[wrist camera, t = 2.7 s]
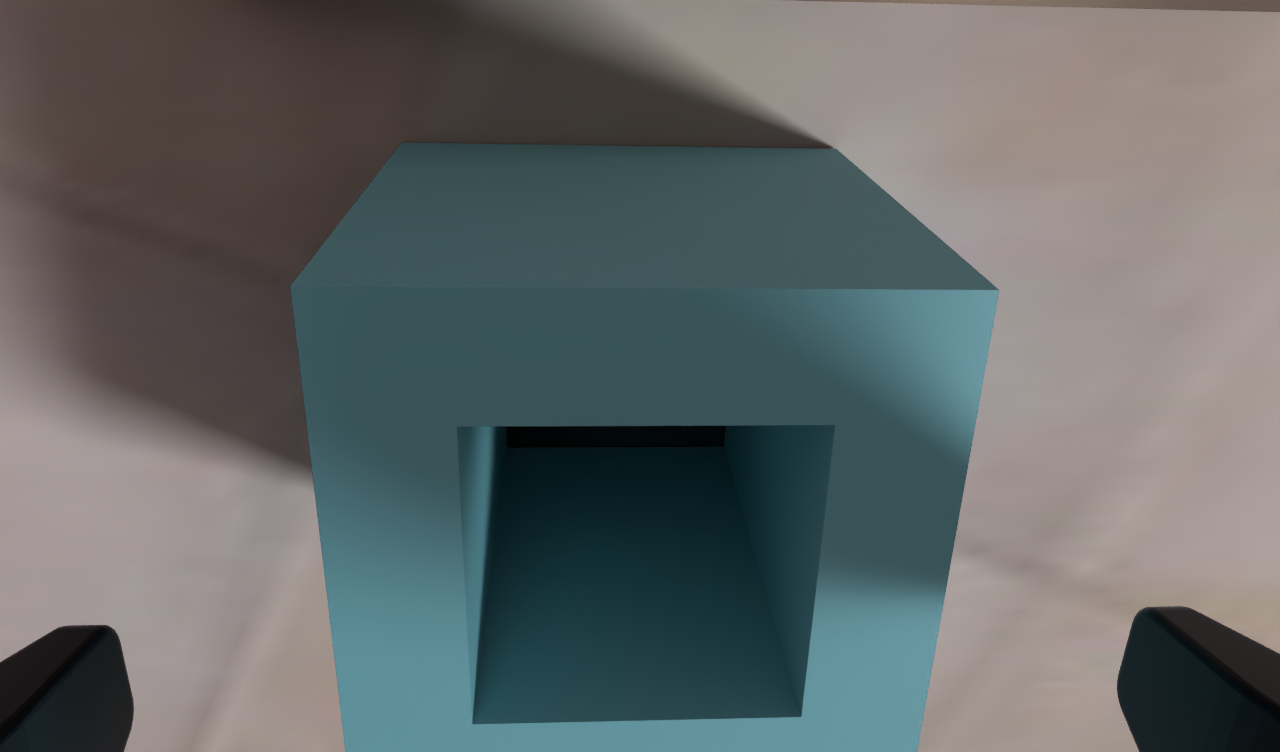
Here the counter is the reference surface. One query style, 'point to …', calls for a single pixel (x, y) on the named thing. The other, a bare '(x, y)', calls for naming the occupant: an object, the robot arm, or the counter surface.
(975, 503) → the counter surface
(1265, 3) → the pin plate
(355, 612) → the square socket block
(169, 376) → the counter surface
